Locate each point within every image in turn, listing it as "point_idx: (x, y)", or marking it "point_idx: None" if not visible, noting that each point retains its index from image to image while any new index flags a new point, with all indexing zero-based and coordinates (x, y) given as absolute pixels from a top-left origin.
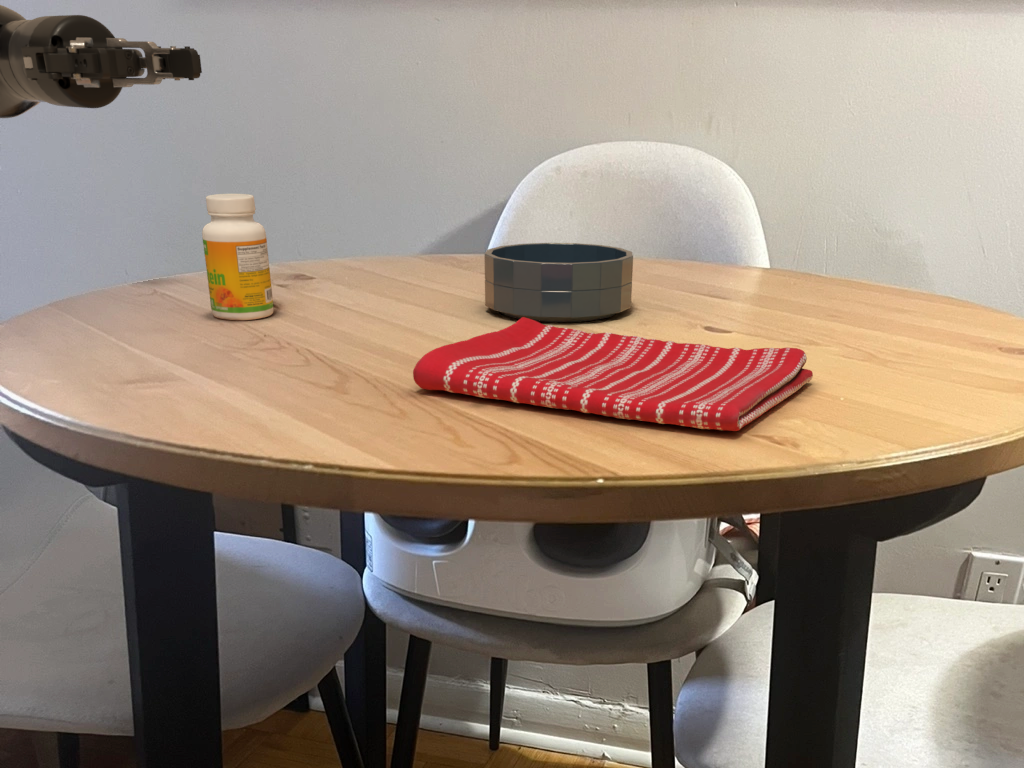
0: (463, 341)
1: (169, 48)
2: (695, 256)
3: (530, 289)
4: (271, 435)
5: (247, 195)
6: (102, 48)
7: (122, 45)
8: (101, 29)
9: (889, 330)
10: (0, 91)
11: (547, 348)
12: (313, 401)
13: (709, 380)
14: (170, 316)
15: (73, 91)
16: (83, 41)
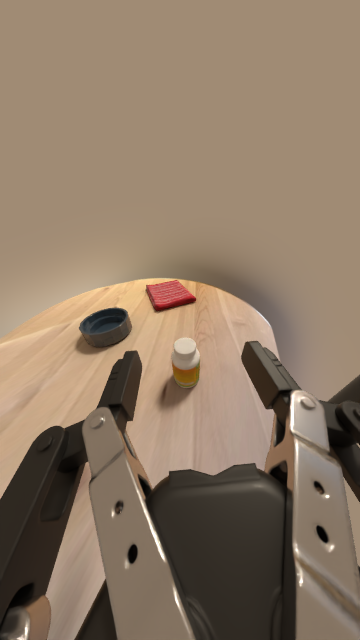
0: (181, 299)
1: (111, 414)
2: None
3: (129, 318)
4: (225, 297)
5: (177, 343)
6: (251, 342)
7: (168, 559)
8: None
9: (97, 298)
10: None
11: (164, 301)
12: (213, 304)
13: (163, 287)
14: (213, 393)
15: None
16: (296, 438)
